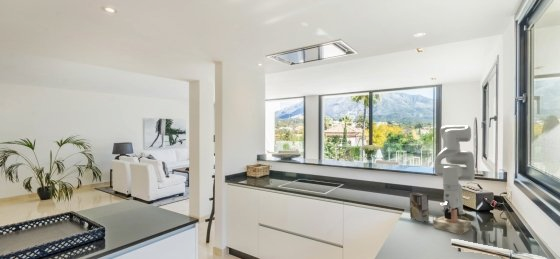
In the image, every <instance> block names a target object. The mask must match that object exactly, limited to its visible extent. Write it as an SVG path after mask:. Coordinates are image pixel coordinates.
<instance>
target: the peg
mask: <svg viewBox="0 0 560 259" xmlns="http://www.w3.org/2000/svg"><path fill="white" fill-rule="evenodd" d="M448 209H449V208H448ZM450 212H451V219H447V221H448V222H452V223H457V219H458V216H457V209H452V208H451V211H450Z"/></svg>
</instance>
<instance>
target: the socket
mask: <svg viewBox="0 0 560 259" xmlns="http://www.w3.org/2000/svg"><path fill="white" fill-rule="evenodd" d="M432 223H433V225H432V226H433V228H435V229H439V230H443V231H446V232H450V233H453V234H457V235H463V234H464V233H466V232H468V231H470V230H472V221H469V220H464V219H460V218H457V223H452V222H448V221H447V219H446V218H445V215H442V216H440V217H437V218H435V219H433V220H432Z"/></svg>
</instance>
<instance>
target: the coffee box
mask: <svg viewBox="0 0 560 259" xmlns="http://www.w3.org/2000/svg"><path fill="white" fill-rule="evenodd" d="M429 210H430V209H429V195H428V194H424V193H419V192H410V193H409V215H410V217H411V218H410V219H412V218H413V220H415V219H416V220H415V221H418V220H419V221H418V222H421V223H424V221H426V222H429V221H430V213H429V212H430V211H429Z"/></svg>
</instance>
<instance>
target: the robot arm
mask: <svg viewBox="0 0 560 259" xmlns="http://www.w3.org/2000/svg"><path fill="white" fill-rule="evenodd" d="M439 133H440V136H441V138H442V140H443V144H442V146H443V147H442V150H441V151H440V152H438V153H437V155H436V156H435V158H434V169H433V170H434V174H435V175H436V176H438V177H442V188H443V203H442V202H441V203H440V204H439V206H440V207H442V208H443V211H444V216H445V218H446V219H451V212H450V211H451V208H452V209H457V217H459V216H460V215H465V214H466V213H467V212H466V210H464V205H463V187H462V185H461V184H460V183H459V181H460V182H461V181H462V182H463V181H464V182H473V181H475V176H476V174H475V157H474V154H473V152H472V151H469V150H461V144H460V143H461V142H463V143H464V142H471V139H472V129H471V126H470V125H466V124H465V125H463V124H461V125H460V124H459V125H457V124H456V125H444V126H441V127H440V129H439ZM444 159H445V161H446V163H441V161H443V160H444ZM461 165H462V166H461ZM448 208H449V209H448Z"/></svg>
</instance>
